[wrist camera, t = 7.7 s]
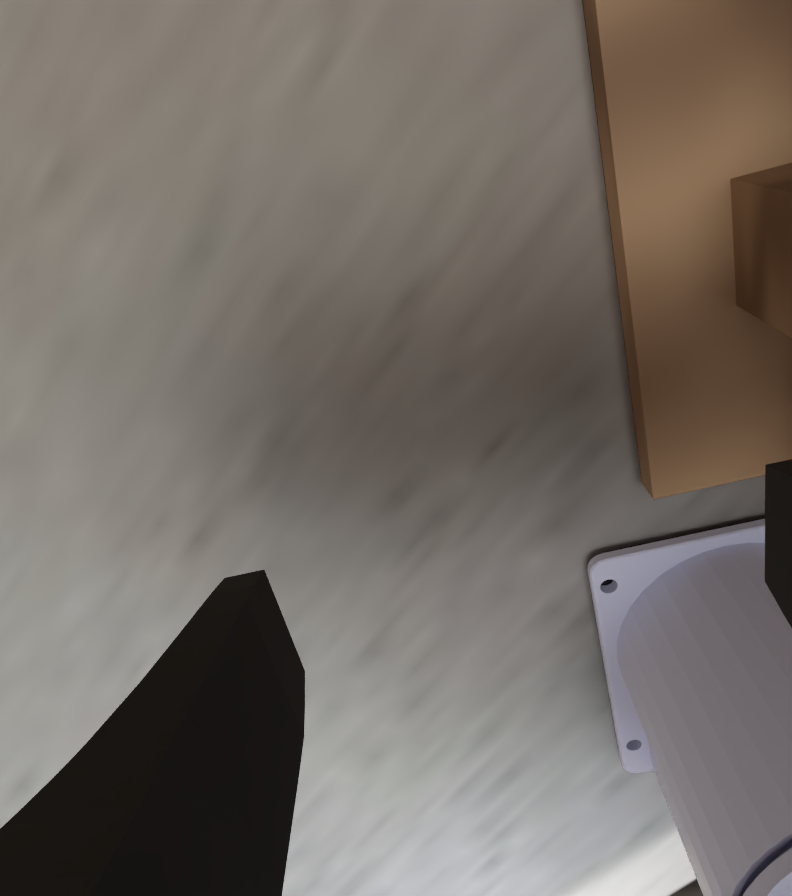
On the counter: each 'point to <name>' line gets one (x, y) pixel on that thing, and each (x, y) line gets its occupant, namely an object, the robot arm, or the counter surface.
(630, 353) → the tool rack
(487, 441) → the counter surface
